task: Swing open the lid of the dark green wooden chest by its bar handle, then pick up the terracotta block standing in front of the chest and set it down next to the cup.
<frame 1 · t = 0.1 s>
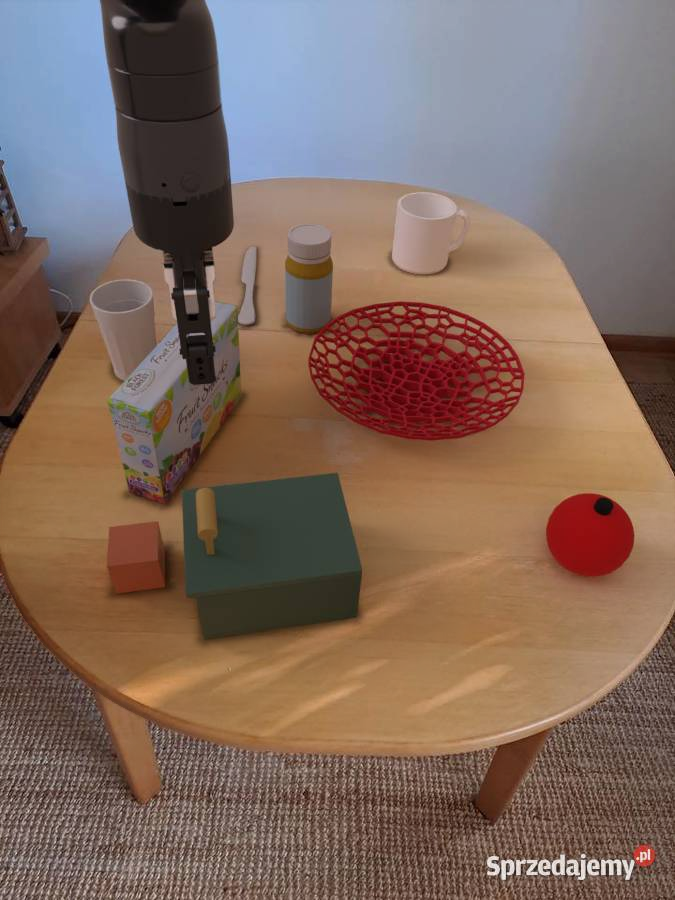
hand: (200, 351, 60), 25 cm above the table, tool pointing down, fingers open, 8 cm apart
bottle: (308, 323, 106), on the table
snack box: (191, 442, 86), on the table
lid: (267, 517, 65), point 10 cm above the table, hinge at 0.0°
chest: (274, 576, 72), on the table
block: (141, 570, 72), on the table
bowl: (411, 390, 95), on the table
ornament: (576, 559, 76), on the table
cup: (137, 369, 96), on the table
mug: (426, 262, 120), on the table
butter knife: (249, 284, 112), on the table
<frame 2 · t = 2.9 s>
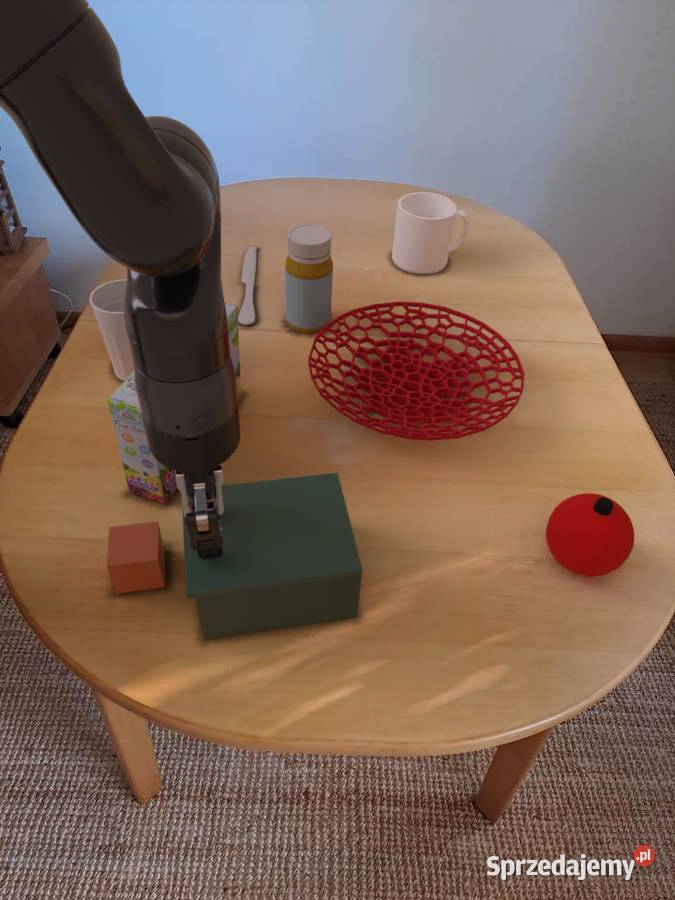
hand: (209, 530, 65), 9 cm above the table, tool pointing down, fingers closed on lid, 5 cm apart
lid: (267, 517, 65), point 10 cm above the table, hinge at 0.0°, touching gripper
everything else where it was.
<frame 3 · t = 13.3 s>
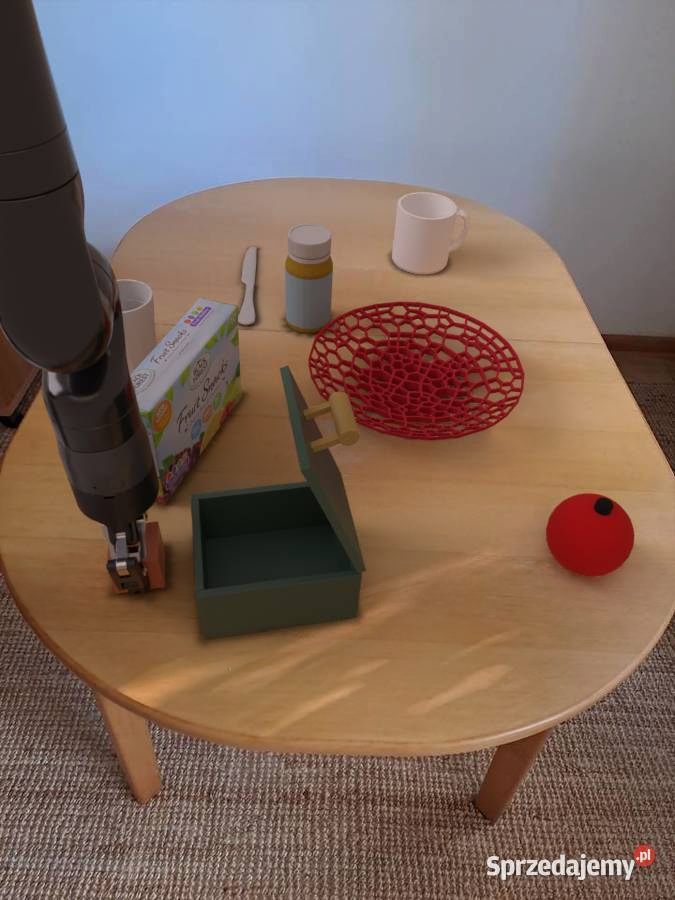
hand: (140, 568, 72), 0 cm above the table, tool pointing down, fingers closed on block, 5 cm apart
lid: (345, 464, 62), point 17 cm above the table, hinge at 69.9°
block: (141, 570, 72), on the table, touching gripper
everything else where it was.
when the fingers open (0 cm above the table, at t = 24.6 s): block stays where it is, on the table.
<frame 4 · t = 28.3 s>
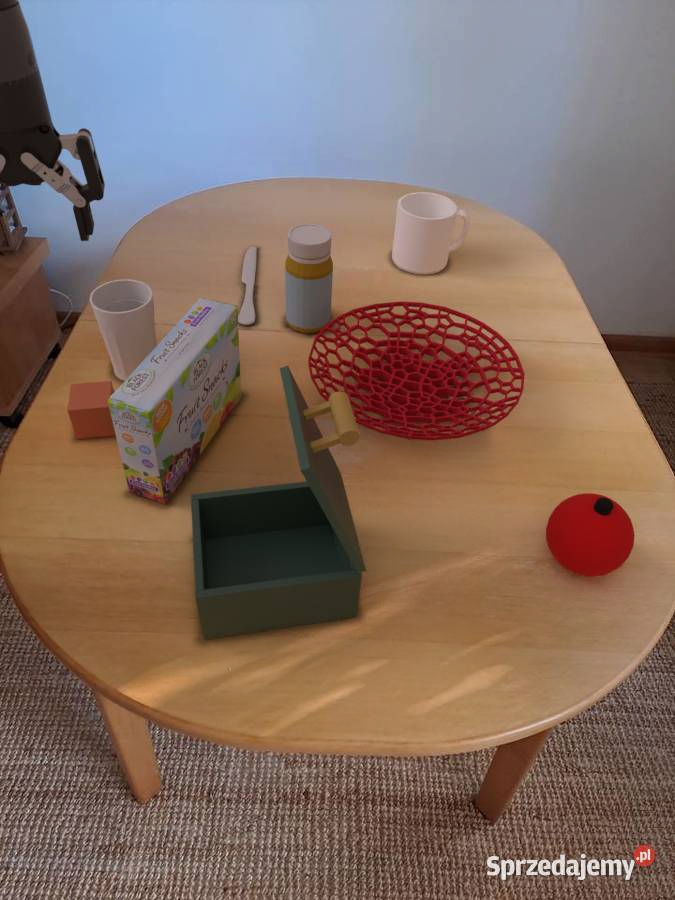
hand: (42, 239, 69), 26 cm above the table, tool pointing down, fingers open, 8 cm apart
block: (98, 424, 88), on the table
everything else where it was.
at the end: lid at +70° (first picture: +0°); block 12.0 cm from the cup (horizontally); block tilted 0° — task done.
